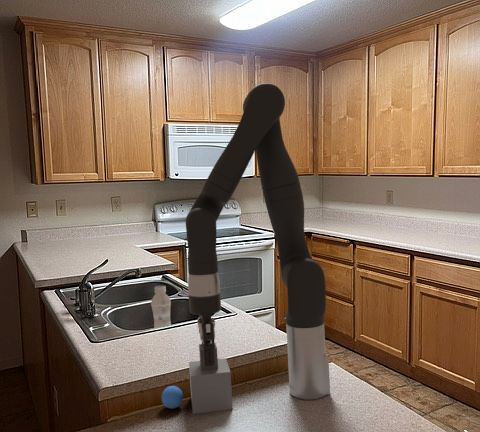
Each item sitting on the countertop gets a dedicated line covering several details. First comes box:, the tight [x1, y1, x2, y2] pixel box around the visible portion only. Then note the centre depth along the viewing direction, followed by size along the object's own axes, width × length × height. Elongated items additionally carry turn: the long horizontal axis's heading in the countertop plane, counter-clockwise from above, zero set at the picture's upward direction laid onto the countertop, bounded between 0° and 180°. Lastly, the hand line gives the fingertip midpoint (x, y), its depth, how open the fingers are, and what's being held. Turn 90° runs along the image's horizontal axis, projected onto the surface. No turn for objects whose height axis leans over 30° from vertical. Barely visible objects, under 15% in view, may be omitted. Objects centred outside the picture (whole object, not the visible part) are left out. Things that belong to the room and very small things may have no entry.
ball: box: [161, 385, 184, 410], centre depth 109 cm, size 5×5×5 cm
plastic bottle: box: [150, 285, 172, 329], centre depth 156 cm, size 6×7×20 cm
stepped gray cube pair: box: [188, 342, 233, 415], centre depth 111 cm, size 9×9×14 cm
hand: (208, 359), depth 110 cm, fingers open, 7 cm apart
